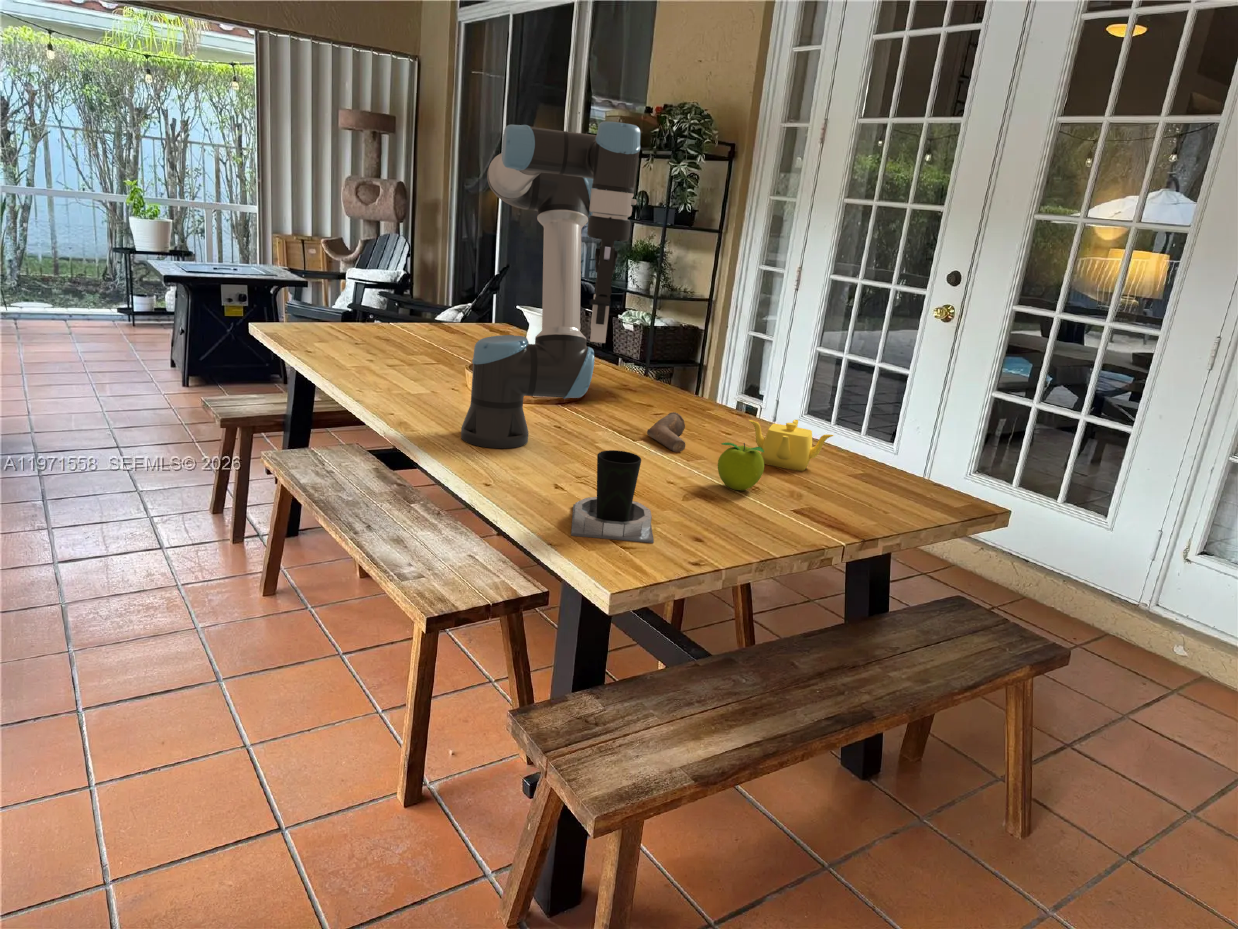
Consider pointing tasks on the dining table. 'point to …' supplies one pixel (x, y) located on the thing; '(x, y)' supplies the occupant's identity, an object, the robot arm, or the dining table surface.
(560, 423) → the dining table surface
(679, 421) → the pipe
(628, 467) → the cup
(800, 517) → the dining table surface
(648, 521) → the duct collar
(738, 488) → the fruit
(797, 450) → the teapot
